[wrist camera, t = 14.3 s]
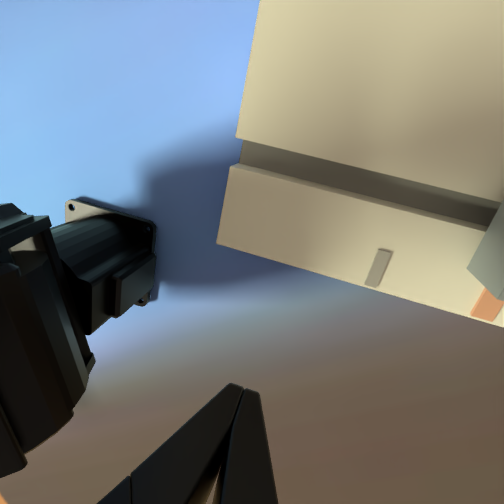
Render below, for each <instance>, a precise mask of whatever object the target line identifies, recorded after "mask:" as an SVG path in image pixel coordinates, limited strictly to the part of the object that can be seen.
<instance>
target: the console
mask: <svg viewBox="0 0 504 504" xmlns="http://www.w3.org/2000/svg"><path fill="white" fill-rule="evenodd" d="M235 137H236V138H240V139H243V144H242V149H241V154H240V160H239V163H238V164H235V165H232V166H230V169H229V175H228V180H227V186H226V191H225V197H224V202H223V208H222V213H221V219H220V225H219V230H218V236H217V241H216V244H219V245H223V246H226V247H229V248H233V249H236V250H240V251H243V252H247V253H250V254H253V255H257V256H260V257H264V258H267V259H271V260H274V261H277V262H281V263H284V264H288V265H291V266H295V267H298V268H301V269H305V270H308V271H312V272H315V273H319V274H322V275H325V276H329V277H332V278H336V279H339V280H343V281H346V282H349V283H353V284H356V285H360V286H363V287H367V288H370V289H373V290H377V291H380V292H384V293H387V294H391V295H394V296H397V297H401V298H404V299H408V300H411V301H415V302H418V303H421V304H425V305H428V306H432V307H435V308H439V309H442V310H445V311H449V312H452V313H456V314H459V315H463V316H466V317H469V318H473V319H476V320H480V321H483V322H487V323H490V324H493V325H497V326H500V327H504V301H501V300H498V299H496V298H495V297H494V296H493V295H492V294H491V293H490V292H489V291H488V290H487V289H486V288H485V287H484V286H483V285H482V284H481V283H480V282H479V281H478V280H477V279H476V278H475V277H474V276H473V275H472V274H471V273H470V272H469V271H468V270H467V269H466V268H467V266H468V264H469V263H470V261H471V259H472V257H473V255H474V253H475V251H476V250H477V248H478V246H479V244H480V242H481V240H482V239H483V237H484V235H485V233H486V231H487V229H488V227H489V226H490V224H491V222H492V220H493V218H494V216H495V214H496V213H497V211H498V209H499V207H500V205H501V203H502V201H503V200H504V0H260V4H259V9H258V15H257V20H256V26H255V31H254V37H253V42H252V48H251V53H250V59H249V64H248V70H247V75H246V81H245V86H244V92H243V97H242V103H241V109H240V114H239V120H238V125H237V131H236V136H235Z"/></svg>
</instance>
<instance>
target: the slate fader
mask: <svg viewBox="0 0 504 504" xmlns="http://www.w3.org/2000/svg"><path fill="white" fill-rule="evenodd" d="M466 269H467V270H468V271H469V272H470V273H471V274H472V275H473V276H474V277H475V278H476V279H477V280H478V281H479V282H480V283H481V284H482V285H483V286H484V287H485V288H486V289H487V290H488V291H489V292H490V293H491V294H492V295H493V296H494V297H495V298H496V299H498V300H501V301H504V200H503V201H502V203H501V205H500V207H499V209H498V211H497V213H496V214H495V216H494V218H493V220H492V222H491V224H490V226H489V227H488V229H487V231H486V233H485V235H484V237H483V239H482V240H481V242H480V244H479V246H478V248H477V250H476V251H475V253H474V255H473V257H472V259H471V261H470V263H469V264H468V266H467V268H466Z"/></svg>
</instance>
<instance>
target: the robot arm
mask: <svg viewBox="0 0 504 504" xmlns="http://www.w3.org/2000/svg"><path fill="white" fill-rule="evenodd" d="M73 205H74V206H75V209H74V208H73ZM51 226H52V225H51V222H50V219H49V216H48V215H46V216H33V215H27V214H26V213H23V212H22V211H21V210H20V209H19V208H17V207H16V206H15V205H14V204H12V203H5V204H0V478H2V477H5V476H7V475H10V474H12V473H15V472H18V471H20V470H22V469H23V468H25V466H26V465H27V463H28V462H27V459H26V457H25V454H27V453H28V452H30V451H32V450H34V449H35V448H36V447H38V446H39V445H41V444H42V443H44V442H45V441H46V440H48V439H49V438H50V437H52V436H53V435H55V434H56V433H57V432H58V431H59V430H60V429H61V428H62V427H64V426H65V425H66V424H67V423H68V422H69V421H70V419H71V418H72V417H73V415H74V412H73V408H74V407H75V405H76V404H77V402H78V401H79V399H80V398H81V396H82V395H83V393H84V392H85V390H86V386H87V383H88V379H89V374H90V372H91V370H92V368H93V366H94V364H95V362H96V361H95V357H94V354H93V353H92V352H90V349H89V345H88V342H87V339H86V336H85V335H91V334H92V333H93V332H94V331H95V330H97V329H98V328H99V327H100V326H101V325H102V324H104V323H105V322H106V321H107V320H108V319H110V318H111V317H113V318H118V317H120V316H121V315H122V314H124V313H125V312H126V311H127V310H128V309H129V308H130V307H131V306H133V305H134V304H135V305H138V306H142V307H143V306H145V305H146V304H147V303H148V302H149V300H150V291H151V289H152V288H153V284H154V275H155V265H156V255H155V253H154V250H155V240H156V225H155V224H154V223H153V222H152V221H150V220H146V219H143V218H139V217H136V216H133V215H129V214H126V213H122V212H119V211H115V210H112V209H108V208H105V207H101V206H98V205H95V204H91V203H88V202H84V201H81V200H77V199H71V200H68V201H66V203H65V223H64V224H61V225H58V226H55V227H52V228H50V227H51ZM146 226H148V227H149V228H150V231H148V230H147V229H146ZM141 298H142V299H143V300H141ZM220 467H221V468H220ZM219 470H220V471H219ZM218 473H219V475H218ZM217 476H218V479H217V484H216V488H215V493H214V498H213V503H212V504H278V499H277V493H276V487H275V481H274V475H273V469H272V463H271V458H270V452H269V446H268V440H267V434H266V428H265V422H264V417H263V411H262V405H261V399H260V394H259V393H258V392H256V391H254V390H251V389H248V388H246V389H244V388H243V387H242V386H239V385H236V384H233V383H229V384H228V385H226V386H225V387H224V388H223V389H222V390H221V391H220V392H219V393H218V394H217V395H216V396H214V397H213V398H212V399H211V400H210V401H209V402H208V403H207V404H206V405H205V406H204V407H202V408H201V409H200V410H199V411H198V412H197V413H196V414H195V415H194V416H193V417H192V418H190V419H189V420H188V421H187V422H186V423H185V424H184V425H183V426H182V427H181V428H180V429H178V430H177V431H176V432H175V433H174V434H173V435H172V436H171V437H170V438H169V439H168V440H167V441H165V442H164V443H163V444H162V445H161V446H160V447H159V448H158V449H157V450H156V451H155V452H153V453H152V454H151V455H150V456H149V457H148V458H147V459H146V460H145V461H144V462H143V463H141V464H140V465H139V466H138V467H137V468H136V469H135V470H134V471H133V472H132V473H131V475H130V476H127V477H126V478H125V479H124V480H123V481H122V482H120V483H119V484H118V485H117V486H116V487H115V488H114V489H113V490H112V491H111V492H109V493H108V494H107V495H106V496H105V497H104V498H102V499H101V500H100V501H99V502H98V503H97V504H206V502H207V499H208V497H209V495H210V493H211V490H212V488H213V486H214V483H215V481H216V478H217Z"/></svg>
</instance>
